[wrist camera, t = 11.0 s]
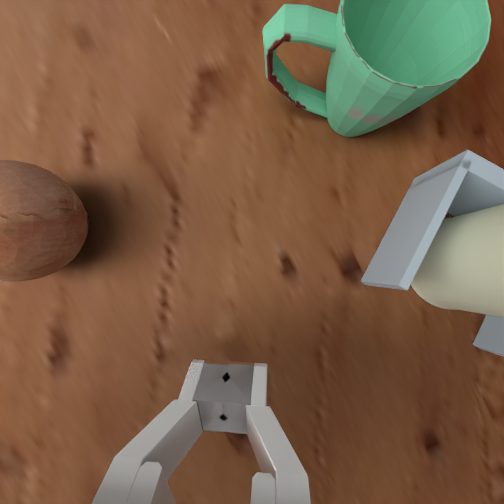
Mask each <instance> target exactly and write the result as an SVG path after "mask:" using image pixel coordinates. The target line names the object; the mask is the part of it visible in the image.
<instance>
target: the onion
mask: <svg viewBox="0 0 504 504" xmlns="http://www.w3.org/2000/svg"><path fill="white" fill-rule="evenodd" d="M87 214H88V213H87V212H86V211H85V208H84V206H83V204H82V201H81V200H80V198H79V197H78V196H77V194H76V193H75V192H74V191H73V190H72V189H71V188H70V186H69V185H68V184H67V183H66V182H65V181H63V180H62V179H61V178H59V177H58V176H56V175H55V174H53V173H52V172H50V171H48V170H46V169H43V168H41V167H38V166H36V165H33V164H29V163H24V162H19V161H10V160H0V281H25V280H32V279H37V278H41V277H44V276H47V275H49V274H51V273H54V272H56V271H58V270H60V269H61V268H63V267H64V266H66V265H67V264H68V263H69V262H71V261H72V260H73V259H74V258H75V257H76V255H77V254H78V253H79V251H80V250H81V248H82V246H83V244H84V242H85V239H86V236H87V231H88V224H89V223H90V222H89V216H88V221H87Z"/></svg>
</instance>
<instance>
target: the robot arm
mask: <svg viewBox="0 0 504 504" xmlns="http://www.w3.org/2000/svg"><path fill="white" fill-rule="evenodd" d="M202 430H203V431H222V432H232V433H241V434H248V438H249V441H250V443H251V446H252V449H253V451H254V454H255V456H256V459H257V462H258V464H259V467H260V469H261V472H262V473H259V472H257V473H256V474H255V475H254V476H253V478H252V491H251V504H311V503H310V492H309V482H308V475H307V473H306V472H305V470H304V468H303V466H302V464H301V462H300V461H299V459H298V457H297V455H296V453H295V451H294V450H293V448H292V446H291V444H290V442H289V440H288V439H287V437H286V435H285V433H284V431H283V429H282V428H281V426H280V424H279V422H278V420H277V418H276V417H275V415H274V413H273V411H272V409H271V408H270V407H268V406H267V364H266V363H253V362H224V361H212V360H199V359H193V361H192V362H191V364H190V367H189V370H188V373H187V375H186V378H185V381H184V384H183V387H182V389H181V392H180V395H179V398H178V400H173V401H172V402H171V403H170V404H169V405H168V406H167V407H166V408H165V409H164V410H163V411H162V412H161V413H160V414H158V415H157V416H156V417H155V418H154V419H153V420H152V421H151V422H150V423H149V424H148V425H147V426H146V427H145V428H144V429H143V430H142V431H141V432H140V433H139V434H138V435H137V436H136V437H135V438H133V439H132V440H131V441H130V442H129V443H128V444H127V445H126V446H125V447H124V448H123V449H122V450H121V451H120V452H119V453H118V454H117V455H116V456H115V457H114V459H113V461H112V463H111V465H110V467H109V469H108V471H107V473H106V475H105V477H104V479H103V481H102V483H101V485H100V487H99V489H98V491H97V493H96V496H95V498H94V500H93V502H92V504H175V500H174V497H173V494H172V492H171V489H170V487H169V484H168V482H167V480H168V479H169V478H170V476H171V475H172V474H173V472H174V471H175V469H176V468H177V467H178V465H179V464H180V463H181V461H182V460H183V459H184V457H185V456H186V454H187V453H188V452H189V450H190V449H191V448H192V446H193V445H194V444H195V442H196V441H197V439H198V438H199V437H200V435H201V434H202V433H203V431H202Z"/></svg>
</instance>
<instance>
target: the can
mask: <svg viewBox="0 0 504 504" xmlns="http://www.w3.org/2000/svg"><path fill="white" fill-rule="evenodd" d="M410 285H411V286H412V288H413V289H414V291H415V292H416V293H417V294H418V295H419V296H420V297H421V298H422V299H424V300H425V301H426V302H428V303H430V304H432V305H434V306H436V307H440V308H443V309H457V310H464V311H469V312H475V313H481V314H486V315H491V316H496V317H502V318H504V204H502V205H499V206H495V207H491V208H487V209H483V210H479V211H475V212H471V213H467V214H463V215H459V216H454V217H450V218H444V219H443V221H442V223H441V225H440V227H439V229H438V231H437V233H436V235H435V237H434V239H433V241H432V243H431V245H430V247H429V249H428V251H427V252H426V254H425V256H424V258H423V260H422V262H421V264H420V266H419V268H418V270H417V272H416V274H415V276H414V278H413V280H412V282H411V284H410Z"/></svg>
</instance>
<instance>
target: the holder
mask: <svg viewBox="0 0 504 504" xmlns="http://www.w3.org/2000/svg"><path fill="white" fill-rule="evenodd" d="M502 204H504V169H502V168H500V167H498V166H496V165H495V164H493V163H491V162H489V161H487V160H485V159H484V158H482V157H480V156H478V155H476V154H475V153H473V152H471V151H469V150H466V151H464V152H462V153H460V154H459V155H457V156H455V157H453V158H451V159H449V160H447V161H446V162H444V163H442V164H440V165H438V166H436V167H434V168H433V169H431V170H429V171H427V172H425V173H423V174H421V175H420V176H418V177H416V178H414V180H413V182H412V184H411V186H410V187H409V189H408V191H407V193H406V195H405V197H404V199H403V201H402V203H401V205H400V207H399V209H398V210H397V212H396V214H395V216H394V218H393V220H392V222H391V224H390V226H389V228H388V230H387V232H386V233H385V235H384V237H383V239H382V241H381V243H380V245H379V247H378V249H377V251H376V253H375V254H374V256H373V258H372V260H371V262H370V264H369V266H368V268H367V270H366V272H365V274H364V276H363V277H362V279H361V282H362V283H364V284H366V285H370V286H377V287H385V288H393V289H400V290H408V288H409V286H410V284H411V282H412V280H413V278H414V276H415V274H416V272H417V270H418V268H419V266H420V264H421V262H422V260H423V258H424V256H425V254H426V252H427V251H428V249H429V247H430V245H431V243H432V241H433V239H434V237H435V235H436V233H437V231H438V229H439V227H440V225H441V223H442V221H443V219H444V217H445V215H446V213H449V214H451V215H453V216H459V215H463V214H467V213H471V212H475V211H479V210H483V209H487V208H491V207H495V206H499V205H502ZM472 345H474V346H476V347H477V348H479V349H482V350H485V351H488V352H491V353H494V354H497V355H500V356H503V357H504V318H502V317H496V316H491V315H486V317H485V319H484V321H483V323H482V325H481V327H480V330H479V332H478V334H477V336H476V338H475V340H474V342H473V344H472Z"/></svg>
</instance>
